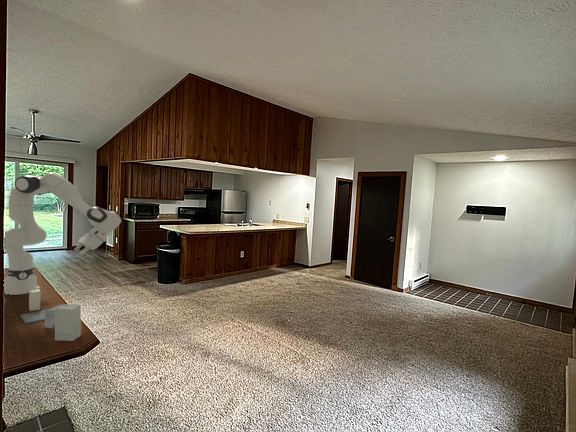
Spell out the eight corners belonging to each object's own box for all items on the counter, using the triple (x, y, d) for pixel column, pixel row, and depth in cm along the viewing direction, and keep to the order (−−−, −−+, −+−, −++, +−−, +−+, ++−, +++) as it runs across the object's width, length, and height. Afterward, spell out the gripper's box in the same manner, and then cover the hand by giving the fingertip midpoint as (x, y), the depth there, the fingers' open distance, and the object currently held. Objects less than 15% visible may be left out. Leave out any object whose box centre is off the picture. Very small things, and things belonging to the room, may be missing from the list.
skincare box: (81, 335, 143) (82, 304, 142) (72, 342, 137) (73, 309, 136) (62, 334, 142) (63, 303, 141) (53, 341, 136) (53, 308, 135)
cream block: (28, 308, 167) (29, 290, 166) (38, 307, 170) (38, 289, 169) (30, 311, 164) (31, 292, 163) (40, 309, 167) (40, 291, 166)
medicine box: (52, 329, 147) (52, 311, 146) (44, 327, 148) (44, 309, 147) (67, 322, 155) (67, 305, 154) (59, 321, 156) (60, 304, 155)
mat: (20, 316, 157) (20, 314, 157) (54, 309, 168) (54, 308, 168) (25, 324, 149) (25, 322, 149) (60, 316, 160) (60, 315, 160)
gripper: (87, 228, 191) (68, 245, 184) (99, 233, 178) (79, 251, 171) (95, 235, 195) (76, 252, 188) (108, 240, 182) (88, 258, 175)
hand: (78, 251), depth 180 cm, fingers open, 8 cm apart
